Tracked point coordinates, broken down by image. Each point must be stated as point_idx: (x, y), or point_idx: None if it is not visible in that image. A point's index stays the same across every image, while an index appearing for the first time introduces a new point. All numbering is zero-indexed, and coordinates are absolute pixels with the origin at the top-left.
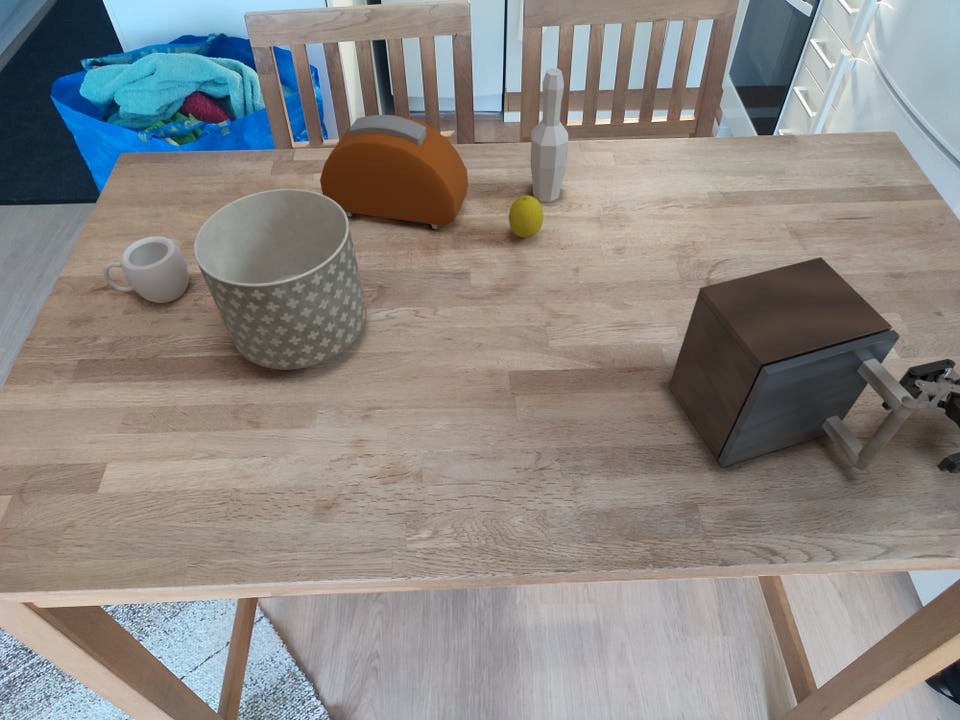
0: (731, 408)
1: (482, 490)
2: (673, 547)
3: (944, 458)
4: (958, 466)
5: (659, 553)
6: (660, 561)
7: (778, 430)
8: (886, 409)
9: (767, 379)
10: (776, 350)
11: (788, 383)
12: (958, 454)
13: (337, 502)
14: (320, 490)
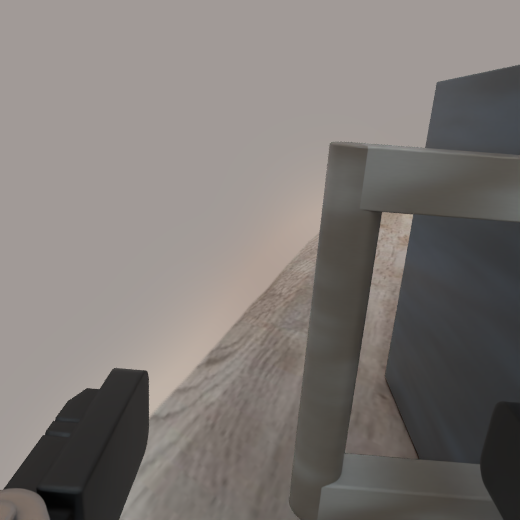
0: None
1: (383, 256)
2: (273, 305)
3: (146, 374)
4: (81, 394)
5: (272, 297)
6: (263, 295)
7: (428, 352)
8: (481, 467)
9: (435, 101)
10: None
11: (450, 143)
12: (118, 397)
13: (384, 227)
14: (396, 226)
